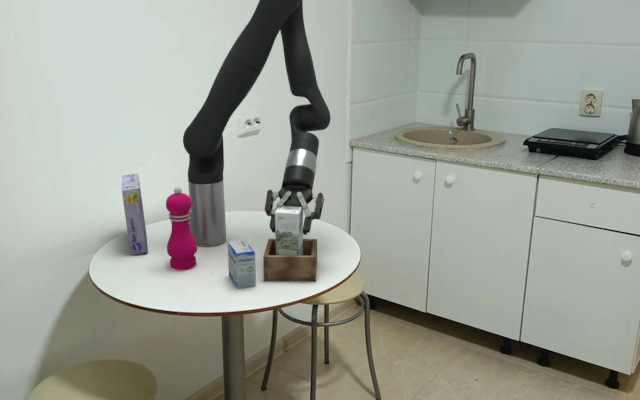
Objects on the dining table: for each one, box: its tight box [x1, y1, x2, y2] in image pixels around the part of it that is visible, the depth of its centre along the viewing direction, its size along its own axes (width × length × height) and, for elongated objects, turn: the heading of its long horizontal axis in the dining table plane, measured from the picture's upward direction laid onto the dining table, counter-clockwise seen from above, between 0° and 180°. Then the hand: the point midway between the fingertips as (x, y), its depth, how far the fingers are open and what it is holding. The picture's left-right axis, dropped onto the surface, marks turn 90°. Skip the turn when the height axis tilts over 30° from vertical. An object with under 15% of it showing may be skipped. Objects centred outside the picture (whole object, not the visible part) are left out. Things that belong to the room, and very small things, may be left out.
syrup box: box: [275, 206, 304, 256], centre depth 140 cm, size 6×6×14 cm
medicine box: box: [227, 239, 257, 289], centre depth 135 cm, size 8×4×9 cm, turn 23°
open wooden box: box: [262, 238, 318, 282], centre depth 141 cm, size 12×12×6 cm
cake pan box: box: [121, 173, 149, 255], centre depth 158 cm, size 19×5×18 cm, turn 18°
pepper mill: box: [165, 186, 198, 271], centre depth 142 cm, size 7×7×20 cm
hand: (289, 232), depth 137 cm, fingers open, 7 cm apart
